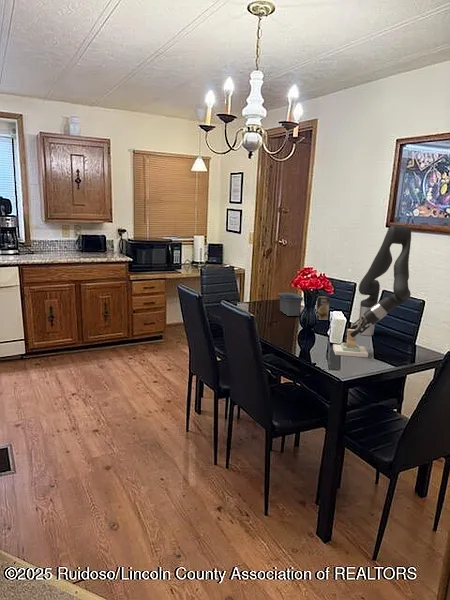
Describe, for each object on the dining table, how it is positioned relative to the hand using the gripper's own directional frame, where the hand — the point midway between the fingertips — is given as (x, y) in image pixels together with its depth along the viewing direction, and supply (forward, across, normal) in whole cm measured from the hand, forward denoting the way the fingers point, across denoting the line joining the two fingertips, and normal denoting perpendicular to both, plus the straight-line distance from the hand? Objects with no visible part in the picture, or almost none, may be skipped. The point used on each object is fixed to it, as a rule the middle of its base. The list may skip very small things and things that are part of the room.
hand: (350, 333), depth 217 cm
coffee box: (+14, -71, +1) cm, 72 cm away
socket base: (+6, 0, +8) cm, 10 cm away
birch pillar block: (+5, 0, +6) cm, 8 cm away
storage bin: (+28, -81, -13) cm, 87 cm away
